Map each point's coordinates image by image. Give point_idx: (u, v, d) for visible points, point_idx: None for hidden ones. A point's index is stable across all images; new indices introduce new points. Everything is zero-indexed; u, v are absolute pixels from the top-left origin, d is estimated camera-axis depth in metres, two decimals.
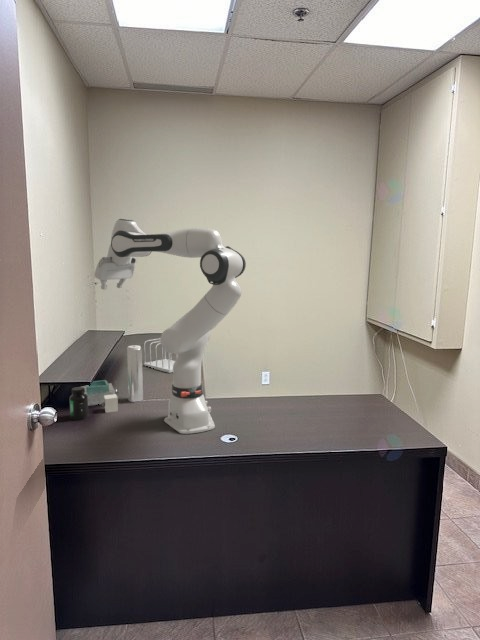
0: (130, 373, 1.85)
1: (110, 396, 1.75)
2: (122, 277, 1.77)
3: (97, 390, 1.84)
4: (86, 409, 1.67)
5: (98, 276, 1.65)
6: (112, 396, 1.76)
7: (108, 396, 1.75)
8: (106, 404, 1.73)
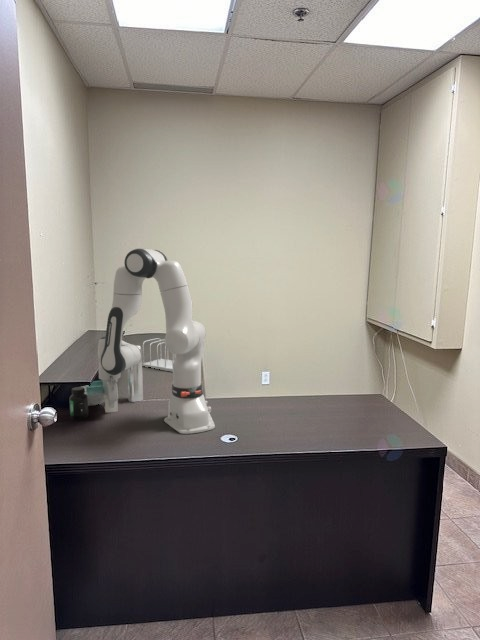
0: (130, 373, 1.85)
1: None
2: None
3: (97, 390, 1.84)
4: (86, 409, 1.67)
5: (115, 398, 1.66)
6: None
7: None
8: (106, 404, 1.73)
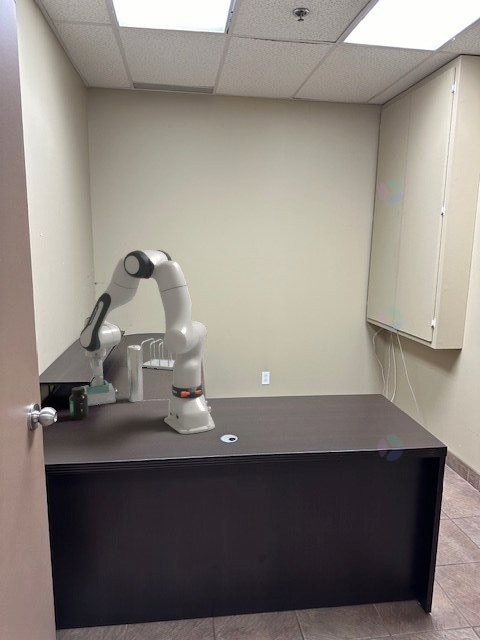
0: (130, 373, 1.85)
1: None
2: None
3: (97, 390, 1.84)
4: (86, 409, 1.67)
5: (100, 374, 1.78)
6: None
7: None
8: (92, 383, 1.85)
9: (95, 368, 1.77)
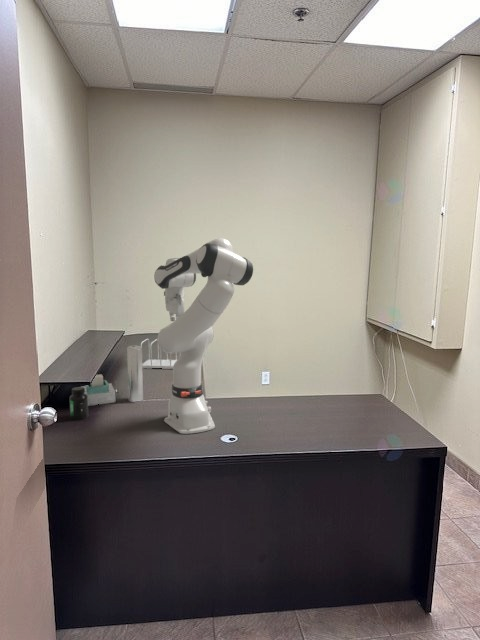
0: (130, 373, 1.85)
1: (96, 376, 1.87)
2: None
3: (97, 390, 1.84)
4: (86, 409, 1.67)
5: (182, 312, 1.87)
6: (98, 376, 1.88)
7: None
8: (92, 383, 1.85)
9: (178, 306, 1.86)
